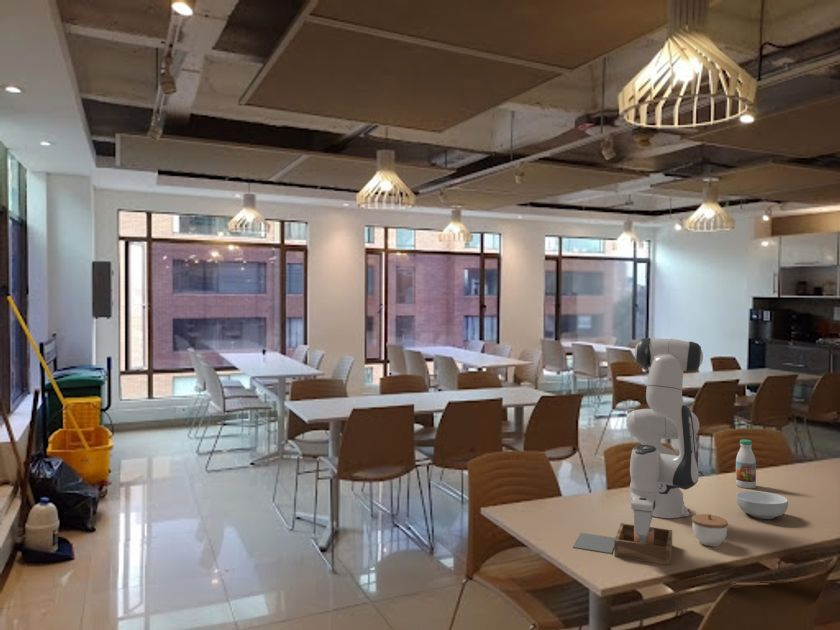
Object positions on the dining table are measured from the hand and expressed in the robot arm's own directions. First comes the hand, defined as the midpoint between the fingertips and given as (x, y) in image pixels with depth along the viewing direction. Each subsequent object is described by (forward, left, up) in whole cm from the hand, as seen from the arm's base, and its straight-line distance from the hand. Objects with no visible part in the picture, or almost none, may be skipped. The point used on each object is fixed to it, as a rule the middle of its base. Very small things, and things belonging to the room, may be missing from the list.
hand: (644, 540), depth 198 cm
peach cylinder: (0, 0, -3) cm, 3 cm away
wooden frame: (0, 0, -3) cm, 3 cm away
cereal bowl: (-54, +37, -3) cm, 66 cm away
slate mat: (0, -15, -3) cm, 15 cm away
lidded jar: (-16, +19, -3) cm, 25 cm away
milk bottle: (-95, +34, -3) cm, 101 cm away
